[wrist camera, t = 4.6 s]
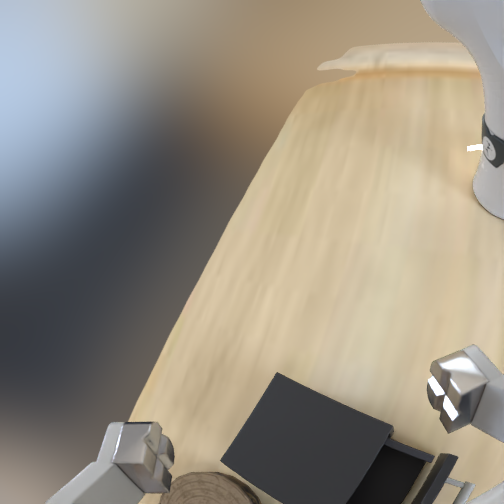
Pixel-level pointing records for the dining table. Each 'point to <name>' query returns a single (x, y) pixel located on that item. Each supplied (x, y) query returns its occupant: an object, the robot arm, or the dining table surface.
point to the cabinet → (305, 445)
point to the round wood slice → (208, 490)
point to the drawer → (406, 477)
